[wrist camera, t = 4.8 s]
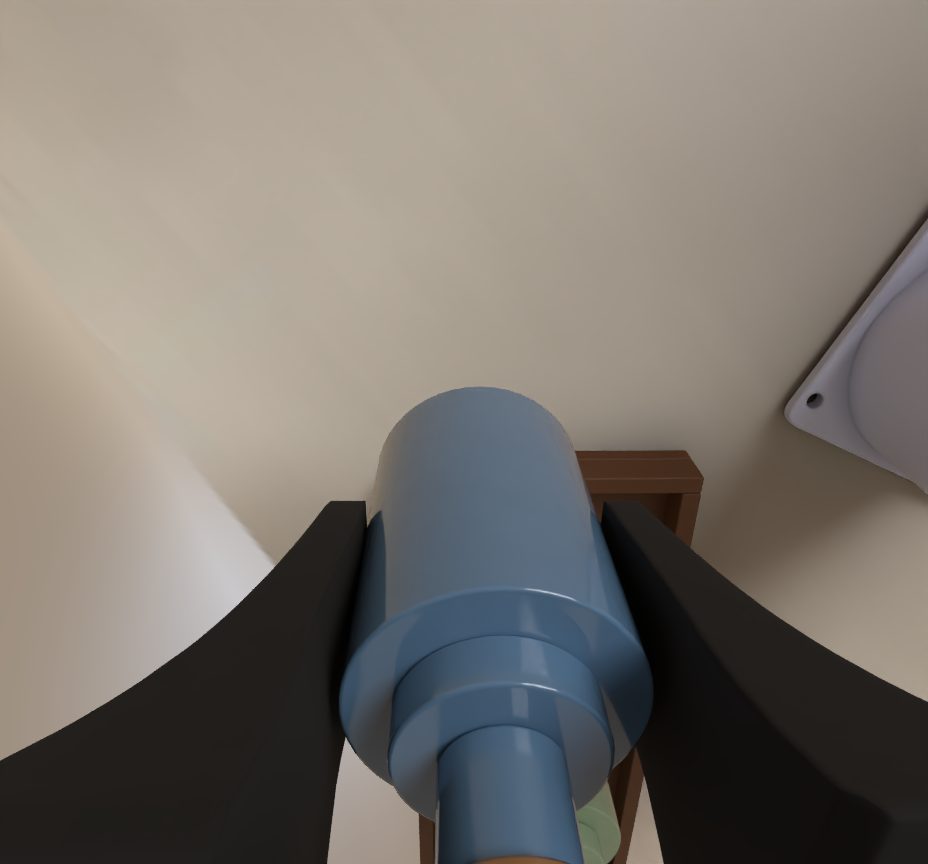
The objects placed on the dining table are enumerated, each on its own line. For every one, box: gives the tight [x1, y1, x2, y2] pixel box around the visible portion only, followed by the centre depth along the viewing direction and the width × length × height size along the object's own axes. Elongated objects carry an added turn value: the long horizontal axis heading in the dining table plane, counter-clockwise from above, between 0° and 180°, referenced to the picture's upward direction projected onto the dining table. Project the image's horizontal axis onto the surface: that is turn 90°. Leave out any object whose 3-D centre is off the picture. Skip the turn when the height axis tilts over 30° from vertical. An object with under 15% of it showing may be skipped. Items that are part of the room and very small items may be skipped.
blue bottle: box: [338, 387, 654, 864], centre depth 10 cm, size 4×4×9 cm
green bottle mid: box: [577, 780, 621, 864], centre depth 23 cm, size 4×4×9 cm
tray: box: [419, 451, 704, 864], centre depth 27 cm, size 21×9×2 cm, turn 179°
